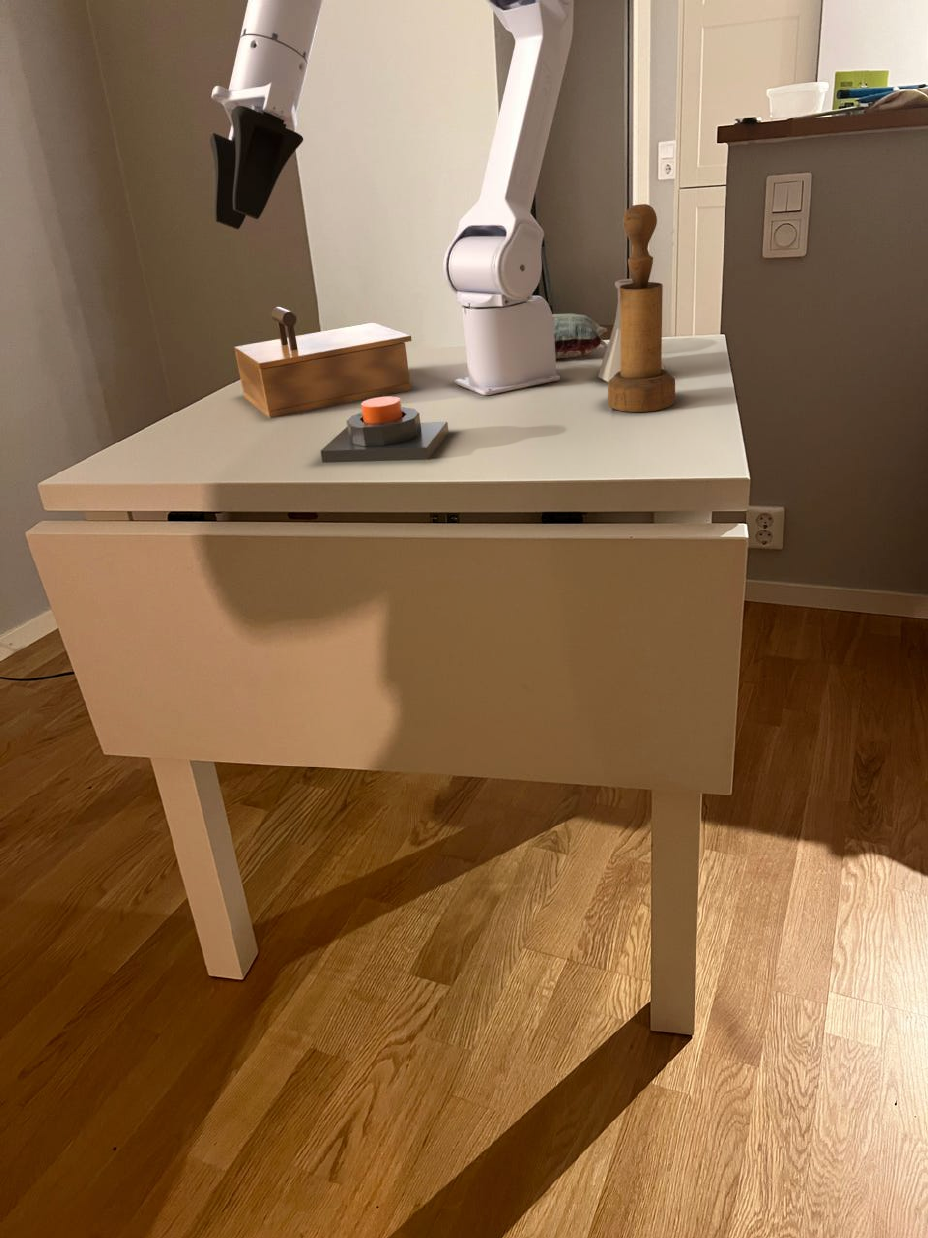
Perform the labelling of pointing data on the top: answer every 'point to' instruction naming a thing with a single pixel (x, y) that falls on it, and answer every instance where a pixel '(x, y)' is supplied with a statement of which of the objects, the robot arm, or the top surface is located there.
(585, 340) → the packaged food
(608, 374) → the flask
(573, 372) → the top surface
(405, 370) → the wooden box
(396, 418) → the button
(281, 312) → the lid
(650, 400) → the mortar and pestle
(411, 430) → the switch block
